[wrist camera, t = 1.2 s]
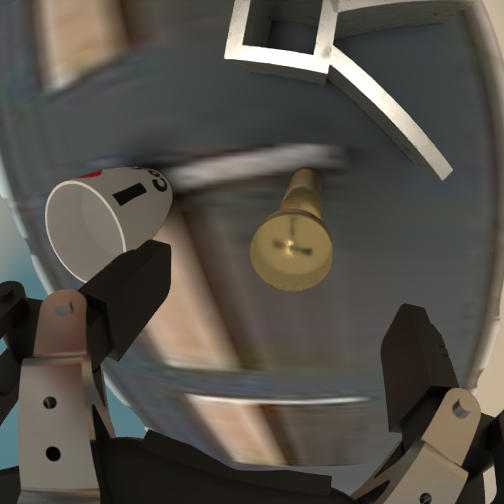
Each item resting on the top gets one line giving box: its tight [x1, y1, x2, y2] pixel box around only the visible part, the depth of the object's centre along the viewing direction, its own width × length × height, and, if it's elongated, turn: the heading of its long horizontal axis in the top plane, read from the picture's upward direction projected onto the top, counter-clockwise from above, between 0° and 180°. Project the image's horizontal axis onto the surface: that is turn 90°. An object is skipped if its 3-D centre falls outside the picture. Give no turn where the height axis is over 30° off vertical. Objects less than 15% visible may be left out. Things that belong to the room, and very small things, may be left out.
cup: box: [45, 166, 173, 283], centre depth 23 cm, size 8×8×10 cm
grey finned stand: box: [224, 0, 477, 181], centre depth 15 cm, size 14×14×7 cm
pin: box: [250, 168, 333, 291], centre depth 18 cm, size 3×3×13 cm
